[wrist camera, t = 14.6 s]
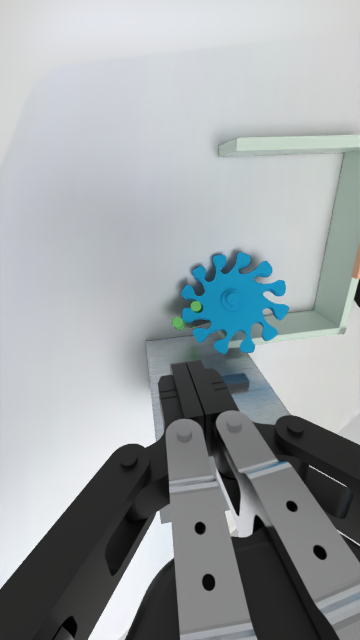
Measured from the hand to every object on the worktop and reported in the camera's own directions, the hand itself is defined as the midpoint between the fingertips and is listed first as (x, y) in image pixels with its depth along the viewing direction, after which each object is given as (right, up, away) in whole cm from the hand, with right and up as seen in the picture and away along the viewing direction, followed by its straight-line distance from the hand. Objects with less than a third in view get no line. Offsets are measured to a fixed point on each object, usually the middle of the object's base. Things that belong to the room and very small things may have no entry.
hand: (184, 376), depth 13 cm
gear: (+4, +6, +16) cm, 18 cm away
